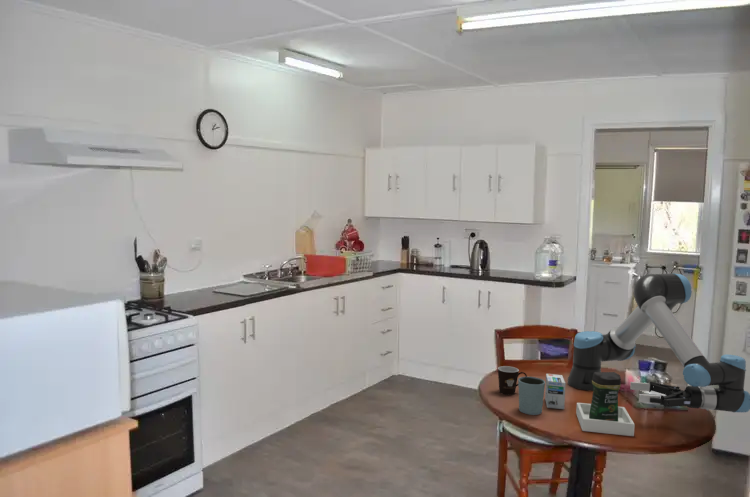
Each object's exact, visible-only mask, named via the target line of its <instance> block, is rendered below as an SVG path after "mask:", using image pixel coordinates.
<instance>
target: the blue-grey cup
mask: <svg viewBox="0 0 750 497" xmlns="http://www.w3.org/2000/svg"><path fill="white" fill-rule="evenodd" d="M517 384H518V386H517V387H518V410H519V411H520V412H521V413H523V414H525V415H530V416H537V415H541V414H542V412H543V405H544V398H545V389H546V380H544V379H542V378H539V377H536V376H527V377H525V376H520V377H518V378H517Z"/></svg>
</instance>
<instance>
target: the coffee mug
mask: <svg viewBox="0 0 750 497" xmlns="http://www.w3.org/2000/svg"><path fill="white" fill-rule="evenodd" d="M519 371H520V370H519V369H518V368H517V367H514V366H508V365H503V366H501V365H500V366H499V367H497V376H498V377H497V378H498V388H499V389H498V391H499V393H500V394H502V395H503V396H504V395H506V396H513V395H515V394H516V389H517V387H518V379H519V375H523V374H524V377H528V375H527V373H526V372H524V371H520V372H519Z"/></svg>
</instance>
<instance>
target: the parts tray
mask: <svg viewBox="0 0 750 497" xmlns="http://www.w3.org/2000/svg"><path fill="white" fill-rule="evenodd" d="M590 407H591V403H586V402H576V410H575V412H576V413H575V414H576V416H577V420H578V422H579V426H580V428H581V431H583V432H592V433H600V434H610V435H617V436H618V435H619V436H627V437H635V426H636V425H635V423H634V421H633V419H632V418H631V416H630V414H629V412H628V411H627V409H626V407H625V406H618V422H617V421H608V420H598V419H589V413H590Z"/></svg>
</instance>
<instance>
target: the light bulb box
mask: <svg viewBox="0 0 750 497" xmlns="http://www.w3.org/2000/svg"><path fill="white" fill-rule="evenodd" d="M544 400H545V404H546V408H548V409H558V410H565V402H566V401H565V400H566V380H565V378H564V377H563V375H562V374H555V373H545V390H544Z"/></svg>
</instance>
